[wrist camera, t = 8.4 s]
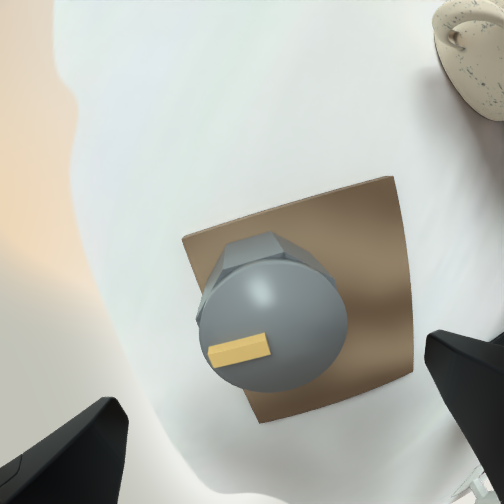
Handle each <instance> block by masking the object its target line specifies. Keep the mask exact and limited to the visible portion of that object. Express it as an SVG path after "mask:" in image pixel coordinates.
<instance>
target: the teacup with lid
mask: <svg viewBox="0 0 504 504" xmlns="http://www.w3.org/2000/svg"><path fill="white" fill-rule="evenodd" d="M432 25H433V28H434V35H435V43H436V48H437V51H438V54H439V57H440V60H441V62H442V65H443V67H444V69H445V71H446V73H447V75H448V77H449V78H450V80H451V82H452V83H453V85H454V86H455V88H456V89H457V91H458V92H459V94H460V95H461V96H462V97H463V99H464V100H465V101H466V102H467V103H468V104H469V105H470V106H471V107H472V108H473V109H474V110H475V111H477V112H478V113H479V114H481V115H482V116H484V117H486V118H488V119H490V120H494V121H504V0H450V1H448V2H446V3H444V4H443V5H441V6H440V7H439V8H438V9H437V10H436V12H435V13H434V15H433V18H432Z"/></svg>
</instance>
